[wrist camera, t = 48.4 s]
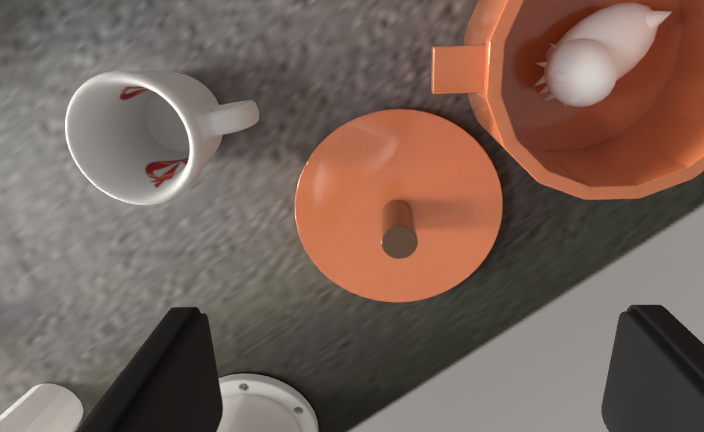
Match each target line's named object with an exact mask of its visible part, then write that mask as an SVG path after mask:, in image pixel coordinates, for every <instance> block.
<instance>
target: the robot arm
mask: <svg viewBox="0 0 704 432" xmlns="http://www.w3.org/2000/svg"><path fill="white" fill-rule="evenodd" d="M602 417H603V421H604V423H605V425H606V427H607V429H608V430H609V432H704V344H703V343H702V342H701V341H699V339H697V338H696V337H695V336H694V335H693V334H692V333H691V332H690V331H689V330H688V329H687V328H686V327H685V326H684V325H683V324H681V323H680V322H679V321H678V320H677V319H676V318H675V317H674V316H673V315H672V314H671V313H670V312H669V311H668V310H667V309H666V308H664V307H663V306H661V305H631V306H630V307H629V308H628V309H627V312H622V313H621V314H620V317H619V320H618V325H617V331H616V336H615V341H614V346H613V351H612V356H611V361H610V366H609V371H608V377H607V382H606V387H605V392H604V397H603V402H602ZM318 431H319V429H318V421H317V418H316V415H315V412H314V410H313V409H312V407H311V405H310V404H309V402H308V401H307V400H306V399H305V398H304V397H303V396H302V395H301V394H300V393H299V392H298V391H296V390H295V389H294V388H292V387H291V386H289V385H287V384H285V383H283V382H282V381H279V380H277V379H274V378H271V377H268V376H263V375H258V374H244V373H242V374H233V375H228V376H225V377H221V378H218V373H217V367H216V361H215V356H214V350H213V344H212V338H211V333H210V327H209V321H208V317H207V315H206V314H205V313H203V314H201V313H200V310H199V309H198V308H197V307H174V308H171V309H170V310H169V311H168V313H167V314H166V315H165V317H164V318H163V319H162V320H161V322H160V323H159V324H158V326H157V327H156V328H155V330H154V331H153V332H152V334H151V335H150V336H149V337H148V339H147V340H146V341H145V343H144V344H143V345H142V347H141V348H140V349H139V351H138V352H137V353H136V354H135V356H134V357H133V358H132V360H131V361H130V362H129V364H128V365H127V366H126V368H125V369H124V370H123V371H122V372H121V373H120V375H119V376H118V377H117V379H116V380H115V381H114V383H113V384H112V385H111V387H110V388H109V389H108V390H107V392H106V393H105V394H104V396H103V397H102V398H101V400H100V401H99V402H98V404H97V405H96V406H95V407H94V409H93V410H92V411H91V413H90V414H89V415H88V417H87V418H86V419H85V421H84V422H83V423H82V424H81V426H80V427H79V428H78V430H77V431H76V432H318Z"/></svg>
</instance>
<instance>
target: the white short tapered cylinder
mask: <svg viewBox="0 0 704 432" xmlns="http://www.w3.org/2000/svg"><path fill="white" fill-rule="evenodd" d="M83 411H84V410H83V407H82V404H81V401H80V400H79V399H78V398H77V397H76V395H75V394H74V393H72V392H71V391H69V390H68V389H66V388H65V387H62V386H59V385H56V384H48V383H42V384H40V385H37V386H34V387H33V388H32V389H31V390H29V391H28V392H27V393H26V394H25V395H24V396H22V397H21V398H20V399H19V400H18V401H17V402H16V403H14V404H13V405H12V406H11V407H10V408H9V409H7V410H6V411H5V412H4V413H3V414H2V415H0V432H74V430H75V428H76V427H77V425H78V424H79V422H80V420H81V419H82V416H83Z"/></svg>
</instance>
